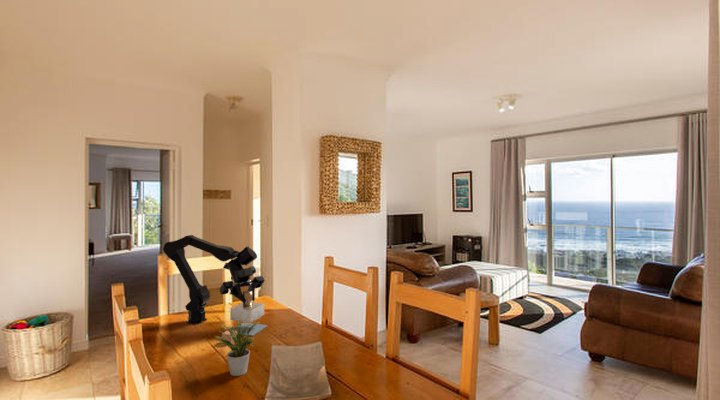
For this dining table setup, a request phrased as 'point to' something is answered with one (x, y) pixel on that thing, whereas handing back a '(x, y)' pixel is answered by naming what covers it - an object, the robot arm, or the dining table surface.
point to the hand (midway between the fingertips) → (249, 301)
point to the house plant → (238, 350)
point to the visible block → (228, 337)
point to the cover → (247, 309)
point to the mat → (254, 330)
